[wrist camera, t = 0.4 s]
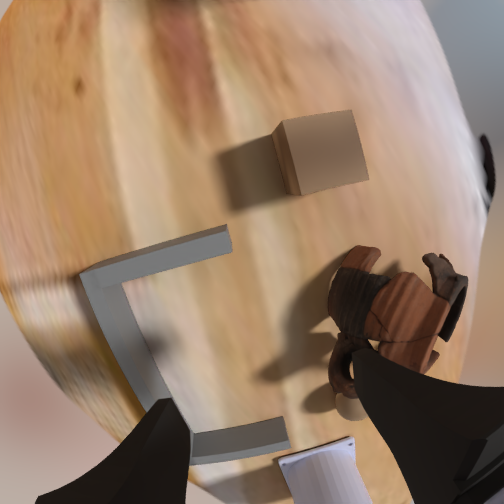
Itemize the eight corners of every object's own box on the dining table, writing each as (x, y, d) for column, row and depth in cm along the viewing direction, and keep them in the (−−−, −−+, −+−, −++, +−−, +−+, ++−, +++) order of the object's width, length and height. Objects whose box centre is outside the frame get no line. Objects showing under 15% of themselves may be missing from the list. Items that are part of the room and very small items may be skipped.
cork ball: (368, 394, 23) (384, 418, 19) (332, 408, 23) (344, 434, 19) (367, 366, 22) (385, 390, 18) (327, 380, 22) (341, 407, 18)
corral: (285, 424, 23) (291, 447, 20) (186, 442, 22) (184, 466, 19) (226, 224, 18) (226, 231, 16) (98, 262, 18) (79, 274, 15)
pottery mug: (370, 204, 20) (476, 235, 13) (396, 270, 25) (470, 302, 19) (269, 346, 18) (370, 424, 11) (324, 377, 24) (395, 428, 17)
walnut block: (342, 180, 19) (369, 179, 15) (286, 193, 18) (301, 195, 15) (328, 123, 18) (351, 109, 14) (270, 134, 18) (282, 120, 14)
